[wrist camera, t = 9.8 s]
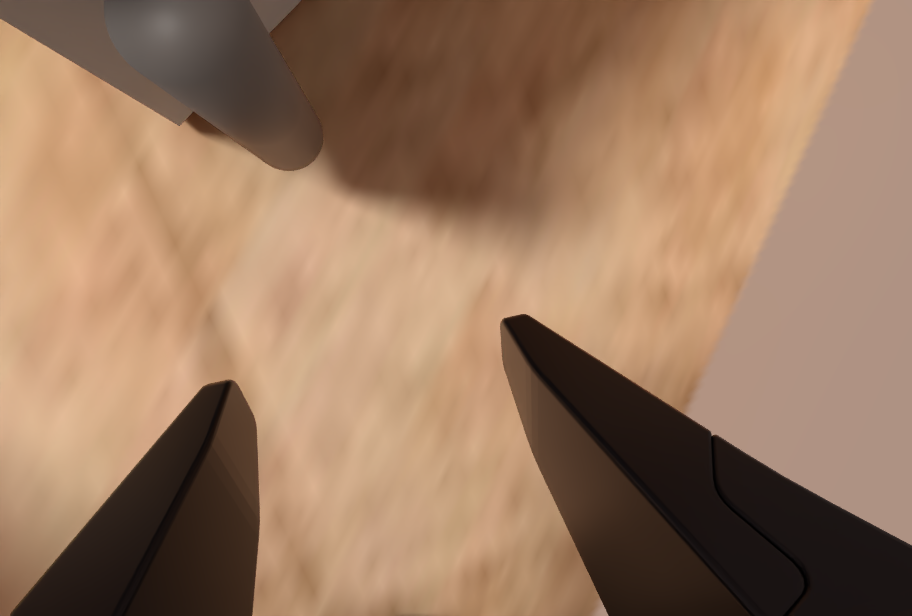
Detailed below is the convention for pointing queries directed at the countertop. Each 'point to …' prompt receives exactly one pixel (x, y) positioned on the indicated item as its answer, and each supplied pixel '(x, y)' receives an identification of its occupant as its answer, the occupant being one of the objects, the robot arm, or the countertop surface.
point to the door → (188, 64)
